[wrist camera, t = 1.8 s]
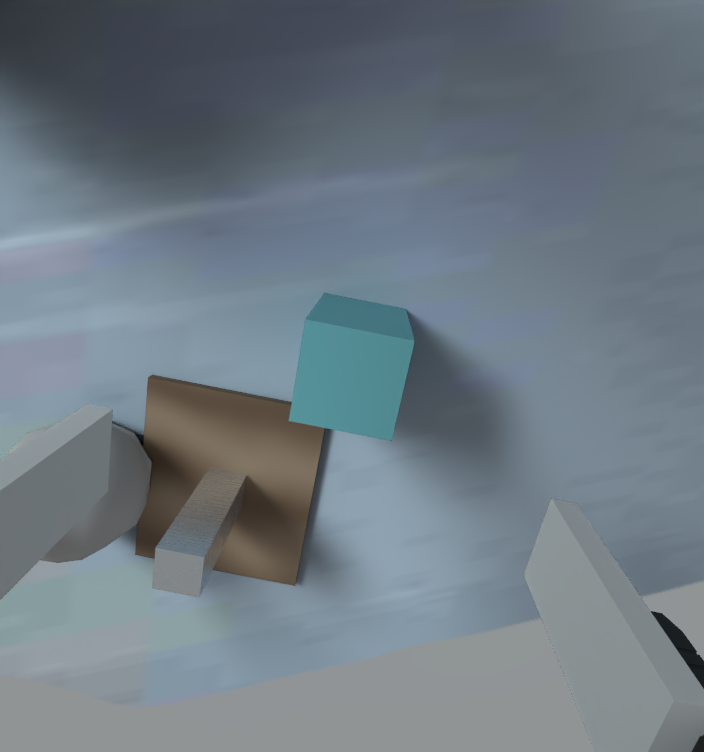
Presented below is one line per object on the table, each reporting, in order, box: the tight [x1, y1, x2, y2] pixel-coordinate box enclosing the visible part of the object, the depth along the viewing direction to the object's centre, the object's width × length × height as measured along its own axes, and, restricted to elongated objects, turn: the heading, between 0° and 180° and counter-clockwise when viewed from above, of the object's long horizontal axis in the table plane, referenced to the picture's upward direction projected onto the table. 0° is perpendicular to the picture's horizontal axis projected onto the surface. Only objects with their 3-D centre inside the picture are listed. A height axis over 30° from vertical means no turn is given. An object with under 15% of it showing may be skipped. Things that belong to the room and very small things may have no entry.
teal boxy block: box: [289, 293, 415, 441], centre depth 29 cm, size 5×5×9 cm
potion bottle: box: [7, 422, 153, 563], centre depth 28 cm, size 9×9×18 cm
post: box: [152, 468, 247, 597], centre depth 32 cm, size 3×3×9 cm
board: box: [135, 375, 325, 586], centre depth 36 cm, size 14×12×1 cm
